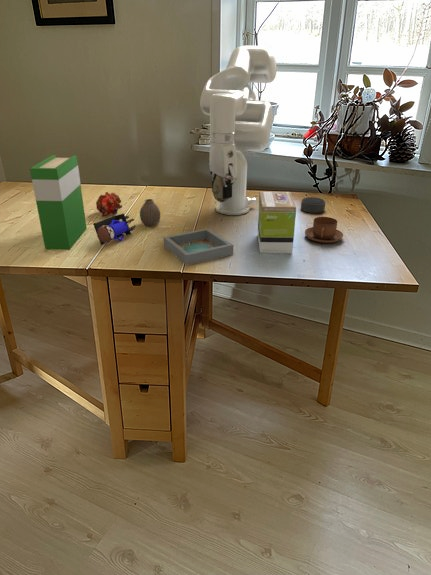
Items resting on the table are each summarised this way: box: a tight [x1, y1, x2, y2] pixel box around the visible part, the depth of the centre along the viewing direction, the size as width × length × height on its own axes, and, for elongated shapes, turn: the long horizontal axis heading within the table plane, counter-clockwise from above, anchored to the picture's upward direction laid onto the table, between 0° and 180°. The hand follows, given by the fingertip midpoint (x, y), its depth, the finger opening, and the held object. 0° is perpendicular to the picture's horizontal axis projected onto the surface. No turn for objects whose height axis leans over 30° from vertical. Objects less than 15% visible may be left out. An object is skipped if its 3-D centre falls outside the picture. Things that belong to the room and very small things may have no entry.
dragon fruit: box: [95, 191, 123, 217], centre depth 158 cm, size 8×8×12 cm
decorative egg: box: [212, 174, 229, 203], centre depth 141 cm, size 6×6×10 cm
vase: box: [139, 198, 161, 228], centre depth 148 cm, size 7×7×9 cm
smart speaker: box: [300, 196, 326, 214], centre depth 165 cm, size 9×9×4 cm
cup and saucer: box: [304, 216, 344, 244], centre depth 140 cm, size 12×12×6 cm
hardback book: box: [29, 154, 88, 251], centre depth 133 cm, size 18×7×24 cm, turn 178°
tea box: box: [257, 191, 297, 254], centre depth 133 cm, size 15×10×15 cm, turn 178°
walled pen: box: [163, 228, 234, 266], centre depth 131 cm, size 15×15×3 cm
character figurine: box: [92, 213, 137, 245], centre depth 136 cm, size 8×7×15 cm
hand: (221, 194), depth 143 cm, fingers closed on decorative egg, 6 cm apart
